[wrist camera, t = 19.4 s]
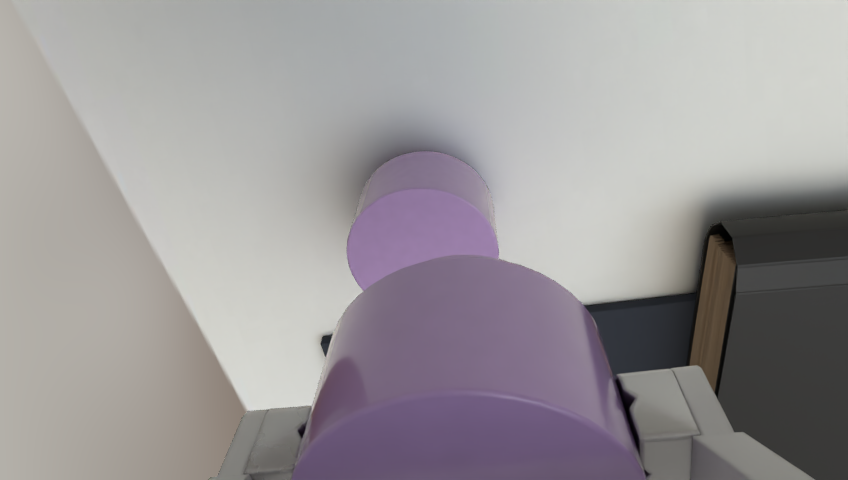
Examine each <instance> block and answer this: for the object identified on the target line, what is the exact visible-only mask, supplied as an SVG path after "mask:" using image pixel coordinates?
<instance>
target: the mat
mask: <svg viewBox="0 0 848 480" xmlns="http://www.w3.org/2000/svg"><path fill="white" fill-rule="evenodd" d="M696 295H697V293H693V294H685V295H676V296H668V297H659V298H651V299H642V300H634V301H625V302H617V303H608V304H599V305H591V306H585V308H586V309H587V310H588V312H589V313H590V314H591V316H592V317H593V319H594V321H595V322H596V324H597V326H598V328H599V330H600V333H601V336H602V339H603V342H604V345H605V348H606V351H607V354H608V357H609V361H610V364H611V367H612V370H613V373H614V376H615V380H616V374H623V373H632V372H641V371H650V370H659V369H670V368H677V367H686V366H687V359H688V352H689V345H690V338H691V331H692V324H693V317H694V310H695V302H696ZM331 338H332V336H326V337H323V338H322V341H321V346H322V349H323V352H324V354H325V357H326V356H327V352H328V349H329V345H330V342H331Z"/></svg>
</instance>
